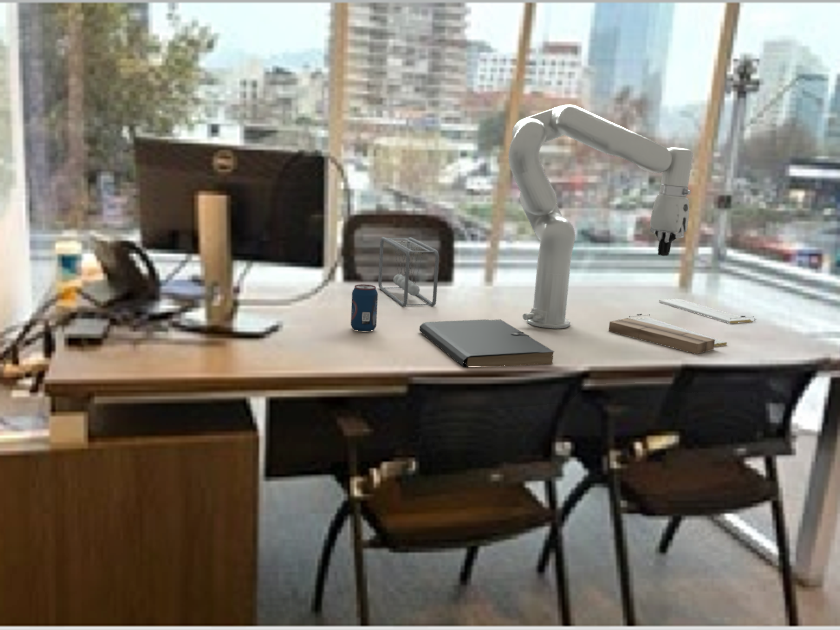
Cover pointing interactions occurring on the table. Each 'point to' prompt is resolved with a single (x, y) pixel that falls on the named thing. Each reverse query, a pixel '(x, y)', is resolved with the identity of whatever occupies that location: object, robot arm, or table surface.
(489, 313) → the table surface
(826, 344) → the table surface
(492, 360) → the dark grey book
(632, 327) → the plank row
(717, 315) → the baseboard molding
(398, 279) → the newton's cradle
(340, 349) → the table surface
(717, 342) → the baseboard
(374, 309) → the soda can
